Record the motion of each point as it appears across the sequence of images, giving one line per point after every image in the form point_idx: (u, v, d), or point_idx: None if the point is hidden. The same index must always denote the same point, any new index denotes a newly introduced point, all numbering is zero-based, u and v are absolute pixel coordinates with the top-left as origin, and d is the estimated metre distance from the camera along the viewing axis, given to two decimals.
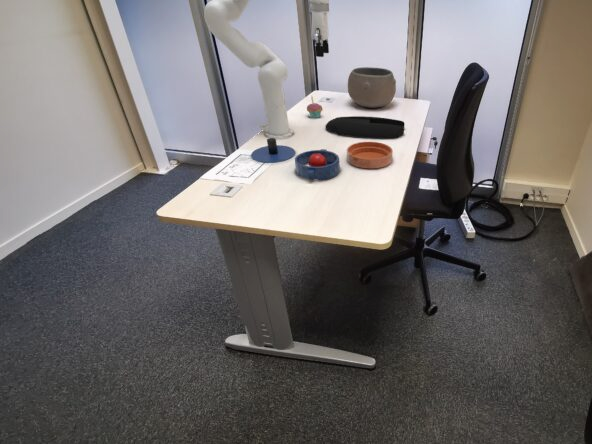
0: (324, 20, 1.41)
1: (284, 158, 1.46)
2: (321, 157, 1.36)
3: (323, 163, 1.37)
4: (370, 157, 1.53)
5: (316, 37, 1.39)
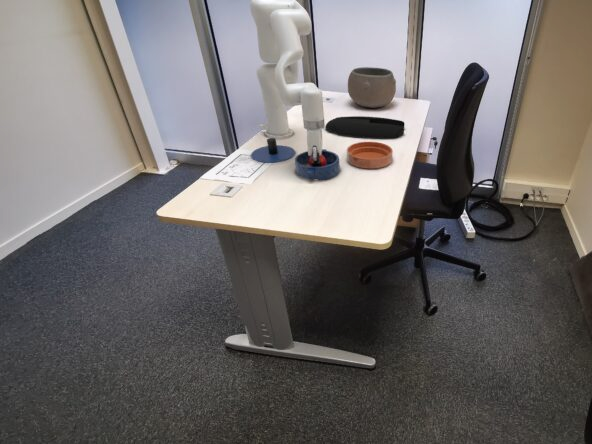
0: (320, 136, 1.30)
1: (284, 158, 1.46)
2: (321, 157, 1.36)
3: (323, 163, 1.37)
4: (370, 157, 1.53)
5: (315, 159, 1.29)
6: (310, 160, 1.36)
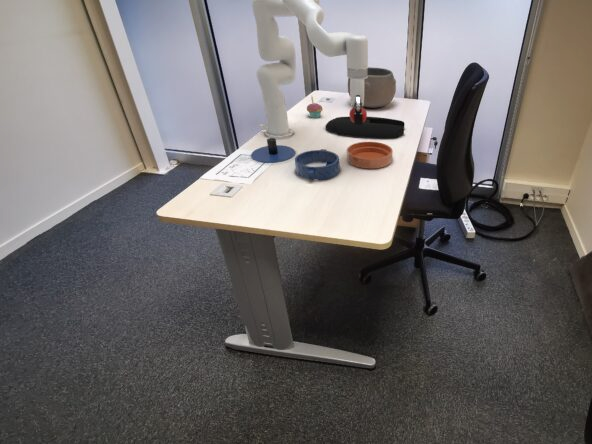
0: None
1: (284, 158, 1.46)
2: (362, 109, 1.36)
3: (364, 115, 1.36)
4: (370, 157, 1.53)
5: (358, 108, 1.29)
6: (351, 112, 1.35)
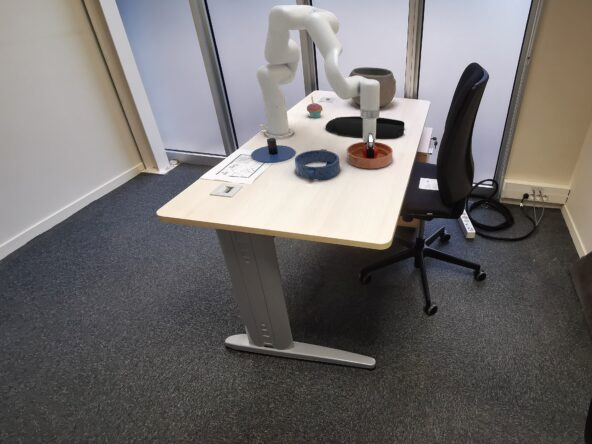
0: None
1: (284, 158, 1.46)
2: (375, 147, 1.47)
3: (376, 153, 1.48)
4: None
5: (371, 143, 1.39)
6: (364, 149, 1.47)
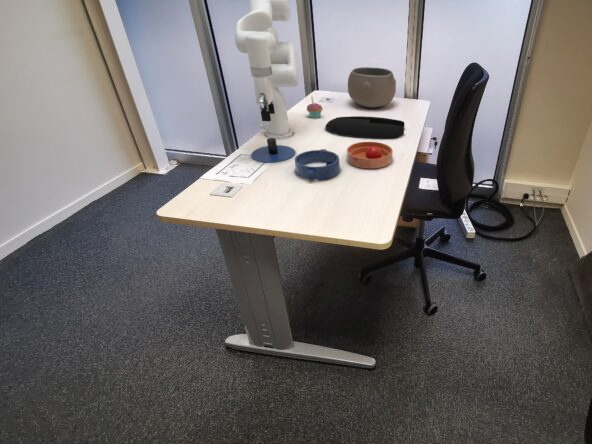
0: (268, 84, 1.32)
1: (284, 158, 1.46)
2: (379, 156, 1.46)
3: None
4: None
5: (261, 103, 1.30)
6: (369, 155, 1.45)
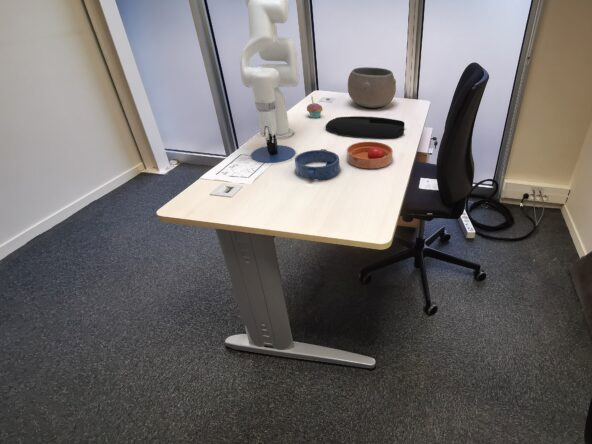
0: (272, 117, 1.39)
1: (284, 158, 1.46)
2: None
3: None
4: None
5: (267, 140, 1.40)
6: (371, 157, 1.44)
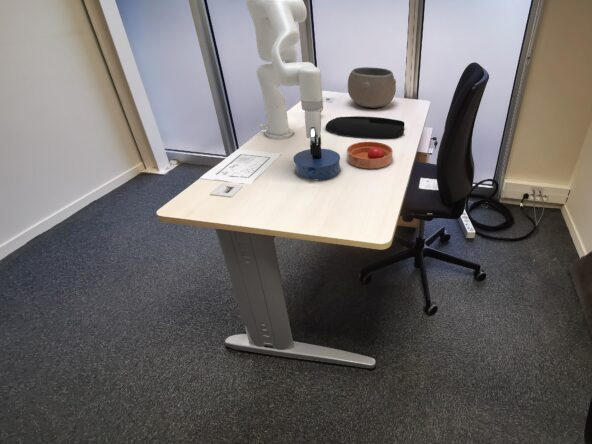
0: (319, 117, 1.26)
1: (330, 163, 1.33)
2: None
3: None
4: None
5: (313, 138, 1.24)
6: (371, 157, 1.44)
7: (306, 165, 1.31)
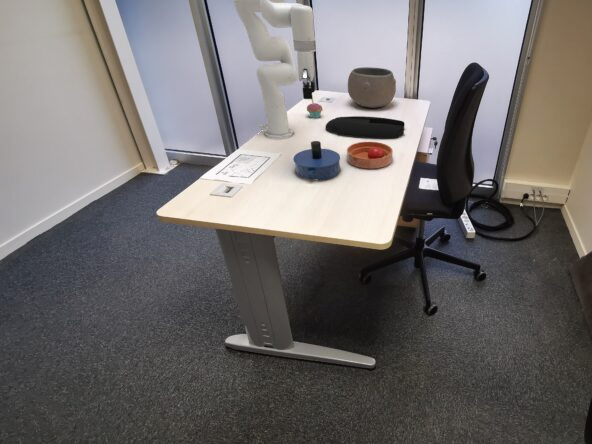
0: (311, 59, 1.26)
1: (330, 163, 1.33)
2: None
3: None
4: None
5: (305, 79, 1.24)
6: (371, 157, 1.44)
7: (306, 165, 1.31)
